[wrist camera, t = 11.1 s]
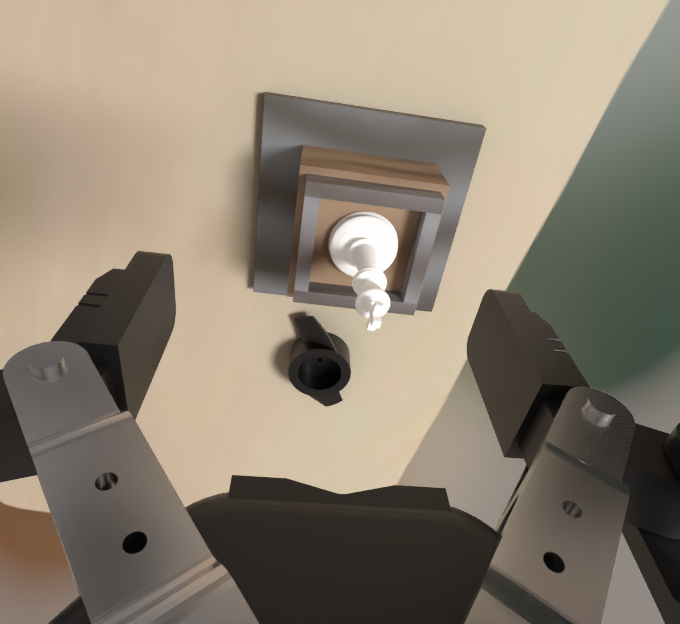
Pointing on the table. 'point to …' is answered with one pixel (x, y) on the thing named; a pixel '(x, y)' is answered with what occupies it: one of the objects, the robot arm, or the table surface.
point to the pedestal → (358, 196)
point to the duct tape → (319, 362)
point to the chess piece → (365, 260)
